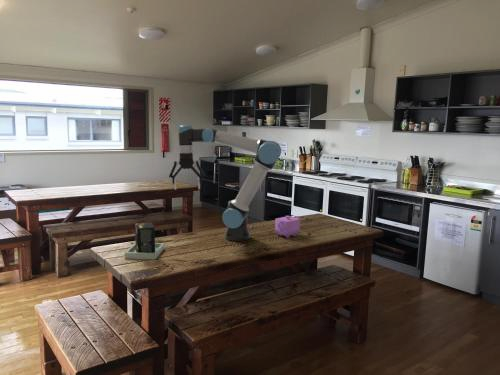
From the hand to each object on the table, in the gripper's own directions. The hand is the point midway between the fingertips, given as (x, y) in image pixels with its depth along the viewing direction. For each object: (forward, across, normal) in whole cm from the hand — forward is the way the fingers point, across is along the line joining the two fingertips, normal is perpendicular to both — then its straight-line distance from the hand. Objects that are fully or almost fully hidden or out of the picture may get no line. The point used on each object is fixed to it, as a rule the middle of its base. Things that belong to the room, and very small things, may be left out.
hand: (187, 189), depth 246 cm
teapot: (+33, -61, -18) cm, 71 cm away
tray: (+31, +21, +23) cm, 44 cm away
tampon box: (+30, +21, +23) cm, 43 cm away
